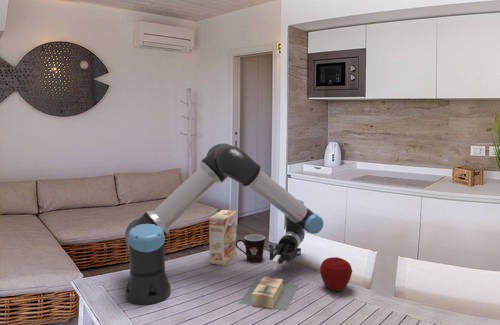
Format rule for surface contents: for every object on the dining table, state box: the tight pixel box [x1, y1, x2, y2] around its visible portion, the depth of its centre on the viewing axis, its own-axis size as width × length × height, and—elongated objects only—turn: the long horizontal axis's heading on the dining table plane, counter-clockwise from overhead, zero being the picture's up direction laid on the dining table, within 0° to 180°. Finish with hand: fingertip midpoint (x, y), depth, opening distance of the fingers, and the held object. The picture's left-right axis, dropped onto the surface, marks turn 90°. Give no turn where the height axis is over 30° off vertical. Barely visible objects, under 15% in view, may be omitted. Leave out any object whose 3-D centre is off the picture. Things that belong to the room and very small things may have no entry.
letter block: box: [251, 276, 284, 310], centre depth 138 cm, size 7×4×14 cm
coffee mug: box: [236, 234, 266, 264], centre depth 173 cm, size 12×9×10 cm
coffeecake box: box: [208, 209, 237, 266], centre depth 174 cm, size 15×7×20 cm, turn 162°
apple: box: [319, 256, 353, 292], centre depth 145 cm, size 11×11×12 cm
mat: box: [238, 278, 300, 311], centre depth 141 cm, size 16×20×1 cm
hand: (273, 264), depth 143 cm, fingers closed
